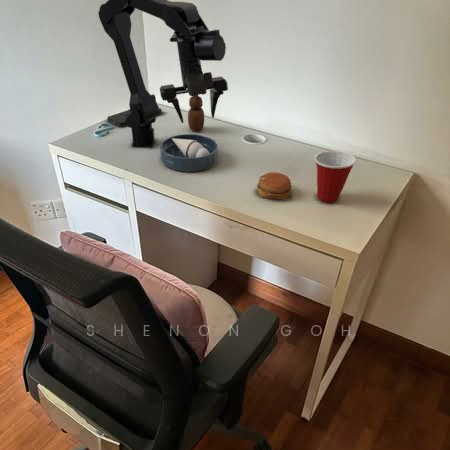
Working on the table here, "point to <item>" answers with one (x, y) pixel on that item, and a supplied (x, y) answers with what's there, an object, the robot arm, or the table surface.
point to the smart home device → (122, 118)
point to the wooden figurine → (196, 114)
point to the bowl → (177, 159)
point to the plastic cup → (332, 174)
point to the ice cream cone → (190, 148)
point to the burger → (274, 185)
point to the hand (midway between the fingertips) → (197, 120)
